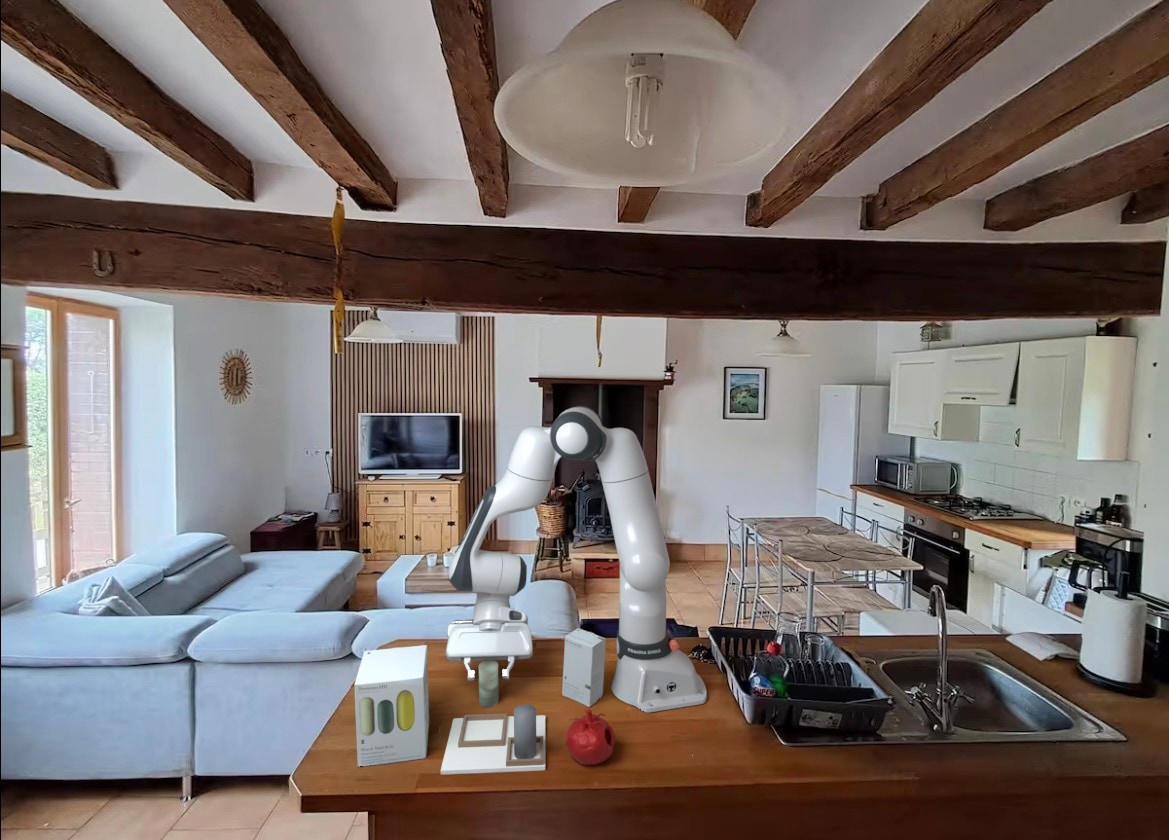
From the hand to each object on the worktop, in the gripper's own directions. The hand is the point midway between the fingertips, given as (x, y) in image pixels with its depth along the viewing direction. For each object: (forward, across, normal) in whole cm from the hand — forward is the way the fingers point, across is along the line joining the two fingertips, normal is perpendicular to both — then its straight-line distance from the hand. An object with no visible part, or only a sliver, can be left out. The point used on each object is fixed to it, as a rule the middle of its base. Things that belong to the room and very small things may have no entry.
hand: (488, 679), depth 134 cm
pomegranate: (+17, +22, -9) cm, 29 cm away
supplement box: (+13, -18, -4) cm, 23 cm away
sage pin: (+4, 0, +5) cm, 6 cm away
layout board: (+14, +3, -6) cm, 16 cm away
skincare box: (+3, +22, +6) cm, 23 cm away
